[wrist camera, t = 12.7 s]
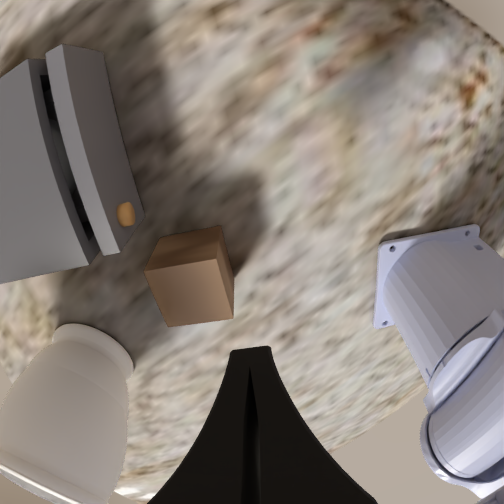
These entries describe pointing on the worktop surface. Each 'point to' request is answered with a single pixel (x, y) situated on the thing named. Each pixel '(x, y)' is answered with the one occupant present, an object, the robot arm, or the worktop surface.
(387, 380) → the worktop surface
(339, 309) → the worktop surface
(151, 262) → the walnut block
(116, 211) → the grey drawer
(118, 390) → the jar
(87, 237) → the block
